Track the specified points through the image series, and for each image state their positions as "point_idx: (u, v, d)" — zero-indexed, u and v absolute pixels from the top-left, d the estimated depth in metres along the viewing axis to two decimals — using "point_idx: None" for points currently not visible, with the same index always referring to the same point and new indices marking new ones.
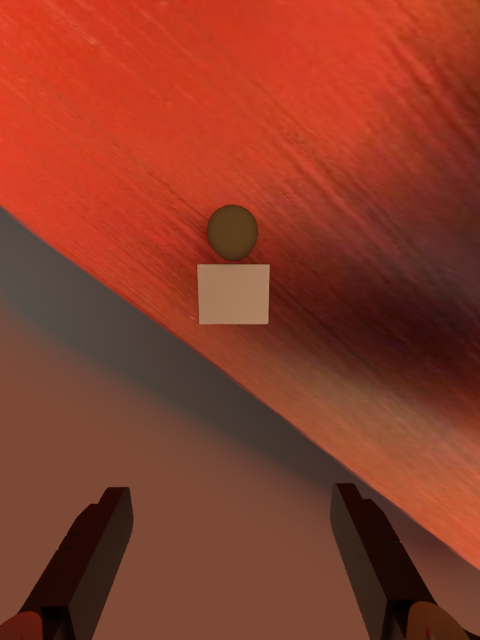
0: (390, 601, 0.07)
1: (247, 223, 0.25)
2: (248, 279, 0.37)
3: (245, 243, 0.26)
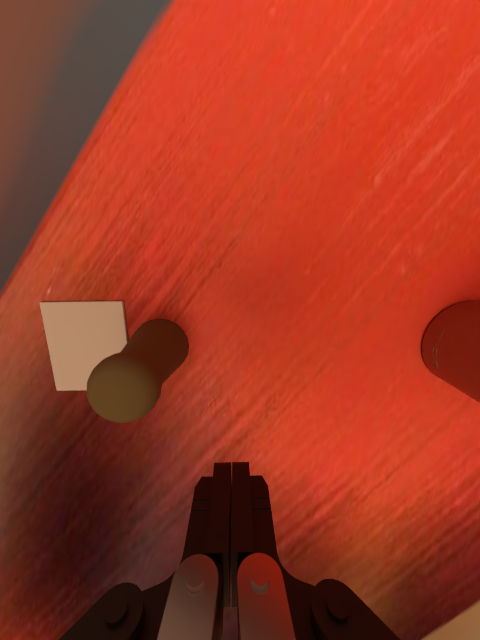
0: (233, 553, 0.08)
1: (128, 416, 0.19)
2: None
3: (101, 413, 0.19)
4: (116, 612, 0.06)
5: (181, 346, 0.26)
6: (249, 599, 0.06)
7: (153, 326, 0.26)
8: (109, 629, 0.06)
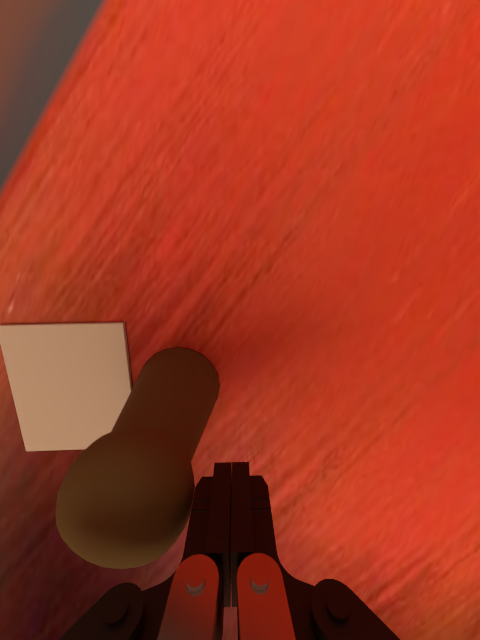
0: (233, 553, 0.08)
1: (136, 562, 0.10)
2: (106, 414, 0.20)
3: (84, 558, 0.10)
4: (115, 612, 0.06)
5: (211, 392, 0.18)
6: (249, 599, 0.06)
7: (170, 362, 0.17)
8: (109, 629, 0.06)
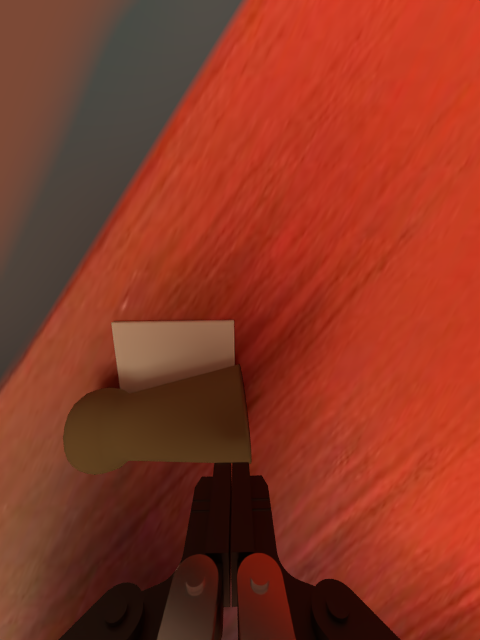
0: (233, 553, 0.08)
1: None
2: None
3: None
4: (115, 612, 0.06)
5: (206, 439, 0.14)
6: (249, 599, 0.06)
7: (205, 379, 0.16)
8: (109, 629, 0.06)
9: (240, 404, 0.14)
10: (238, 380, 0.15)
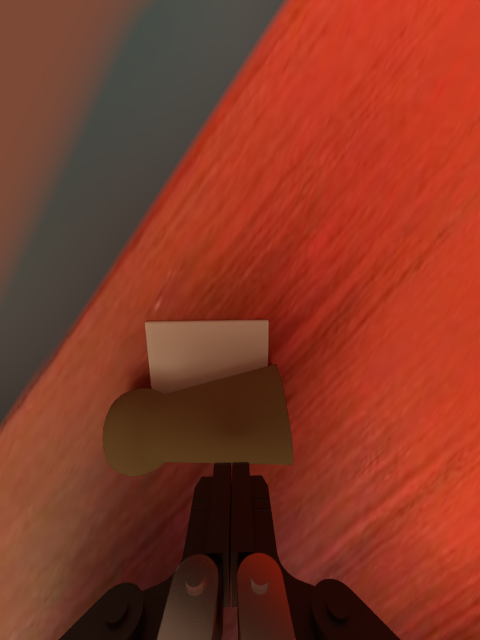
0: (233, 553, 0.08)
1: None
2: None
3: None
4: (115, 612, 0.06)
5: (251, 440, 0.14)
6: (249, 599, 0.06)
7: (245, 379, 0.16)
8: (109, 629, 0.06)
9: (285, 405, 0.14)
10: (280, 380, 0.15)
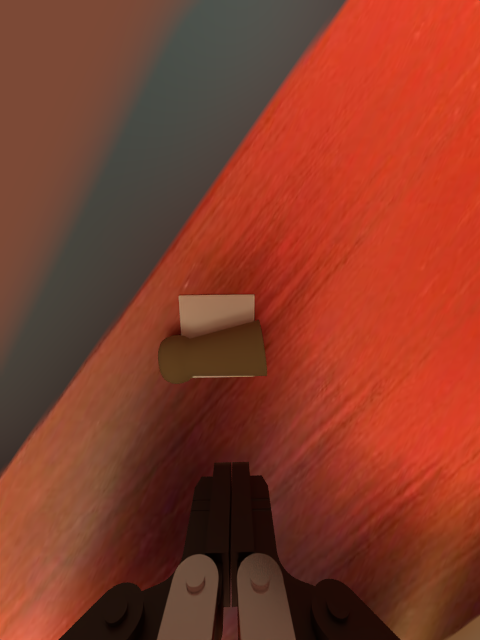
0: (233, 553, 0.08)
1: None
2: None
3: None
4: (115, 612, 0.06)
5: (243, 357, 0.26)
6: (249, 599, 0.06)
7: (240, 327, 0.27)
8: (109, 629, 0.06)
9: (262, 337, 0.26)
10: (259, 325, 0.27)
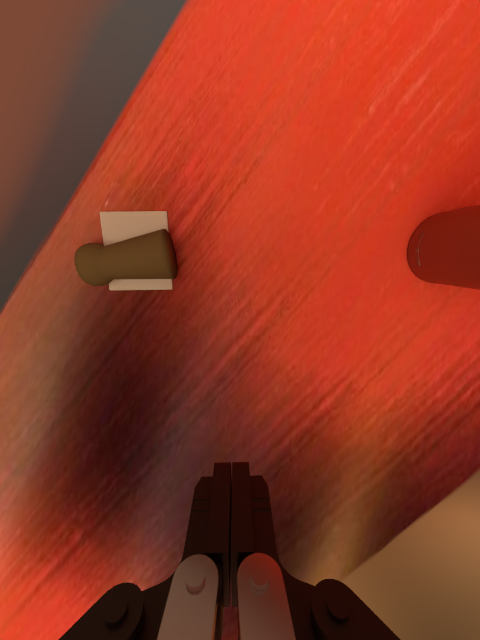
0: (234, 553, 0.08)
1: None
2: None
3: None
4: (116, 612, 0.06)
5: (144, 254, 0.30)
6: (249, 599, 0.06)
7: (147, 233, 0.31)
8: (109, 629, 0.06)
9: (161, 237, 0.30)
10: (162, 230, 0.31)
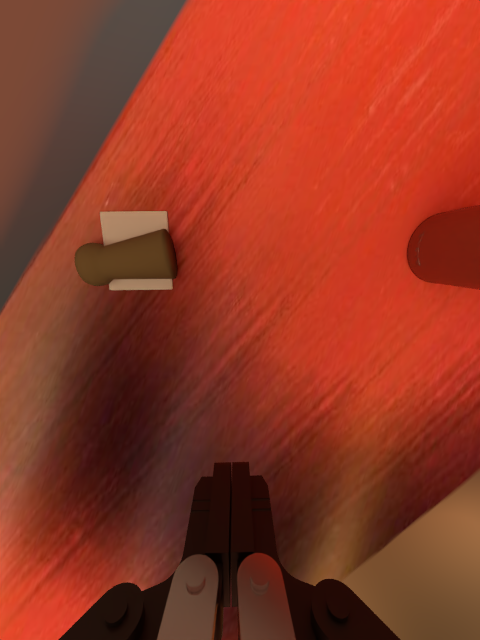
0: (233, 553, 0.08)
1: None
2: None
3: None
4: (115, 612, 0.06)
5: (144, 254, 0.30)
6: (249, 599, 0.06)
7: (147, 233, 0.31)
8: (109, 629, 0.06)
9: (161, 237, 0.30)
10: (162, 230, 0.31)
